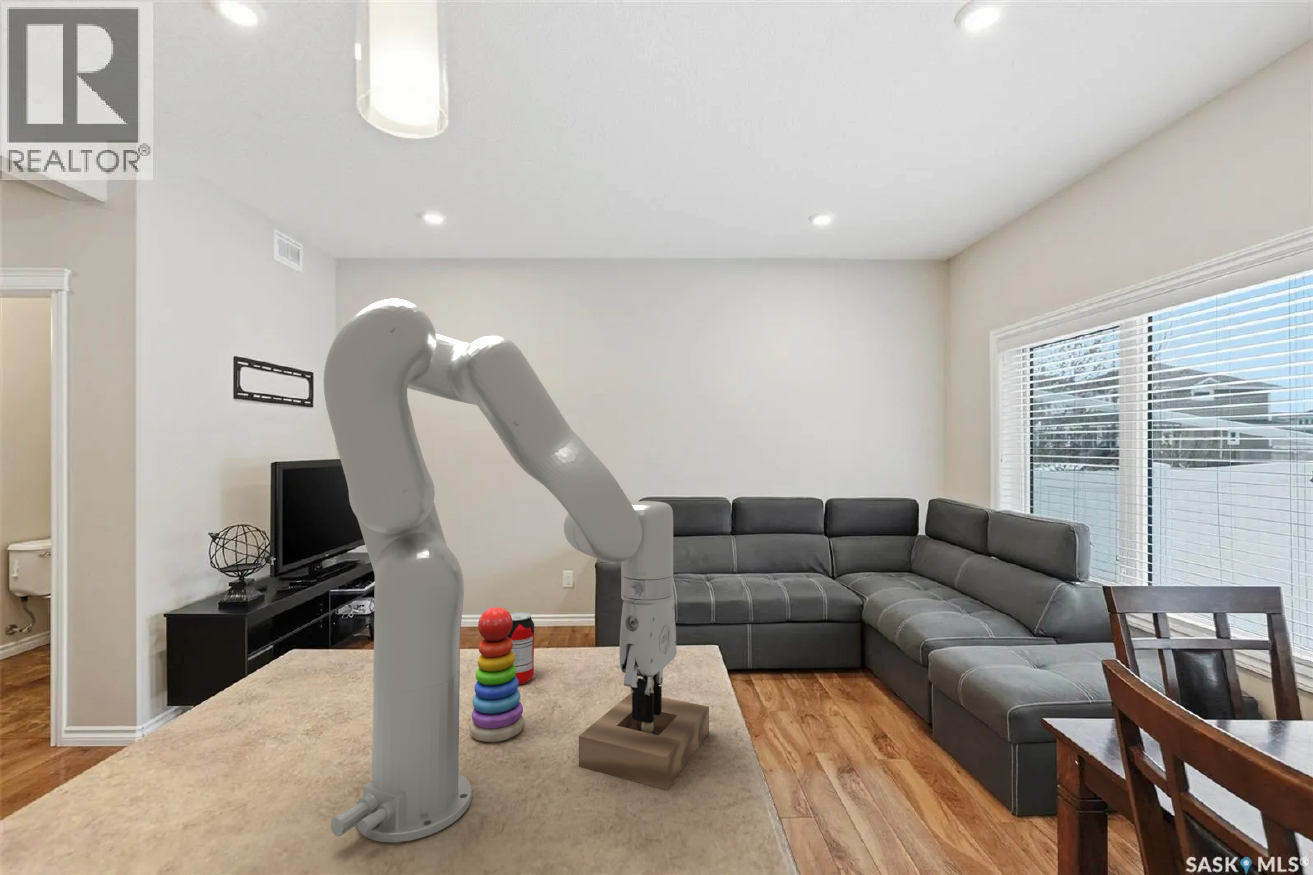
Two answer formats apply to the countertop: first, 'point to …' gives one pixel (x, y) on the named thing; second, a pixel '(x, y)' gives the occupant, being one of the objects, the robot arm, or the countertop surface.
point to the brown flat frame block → (644, 742)
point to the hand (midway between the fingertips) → (646, 715)
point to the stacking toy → (496, 681)
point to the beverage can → (523, 645)
